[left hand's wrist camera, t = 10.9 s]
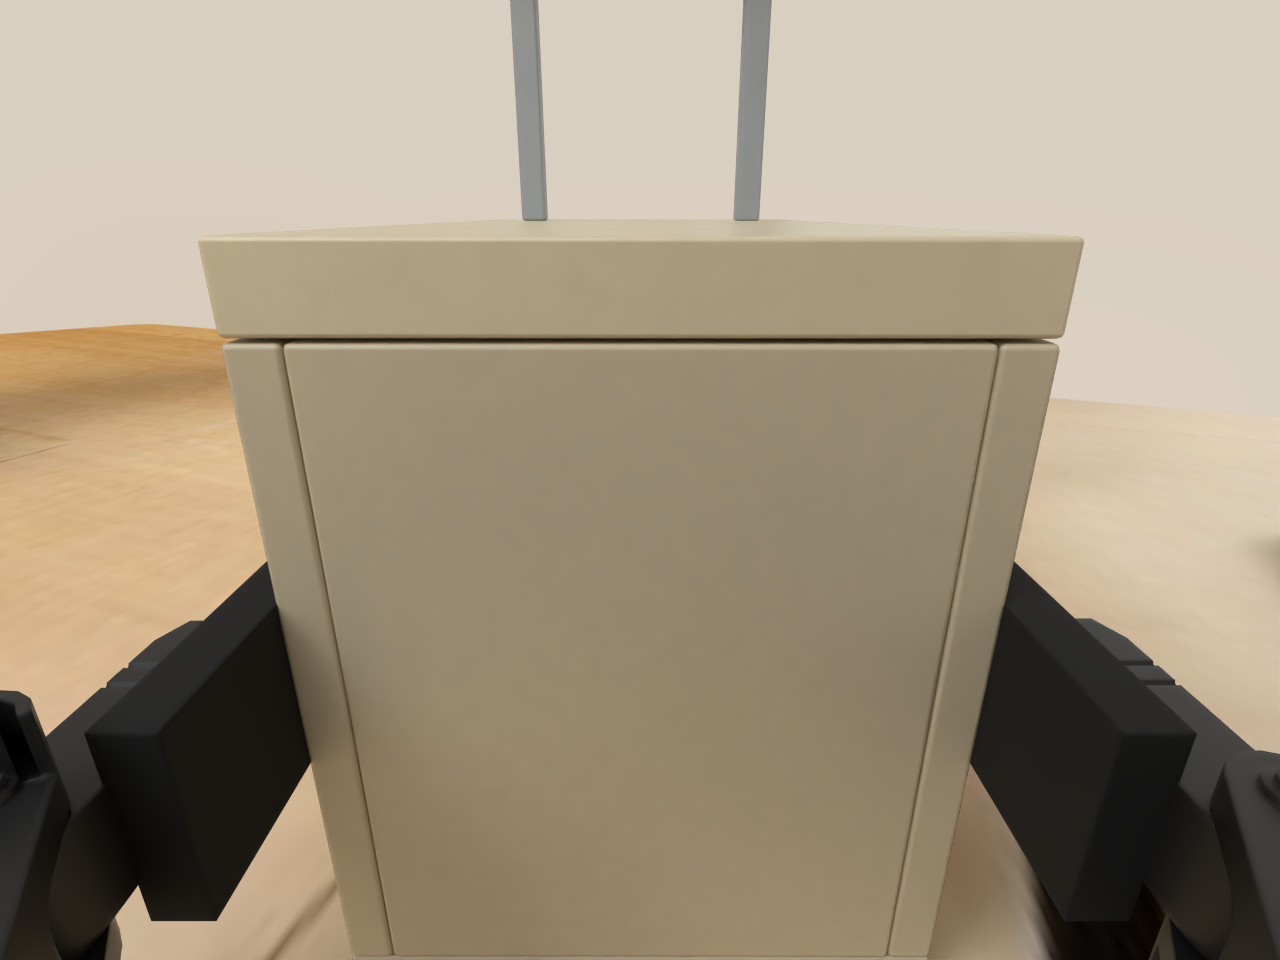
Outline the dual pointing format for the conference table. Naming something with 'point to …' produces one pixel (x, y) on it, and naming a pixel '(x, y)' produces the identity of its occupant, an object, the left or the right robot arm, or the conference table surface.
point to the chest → (640, 629)
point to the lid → (641, 262)
